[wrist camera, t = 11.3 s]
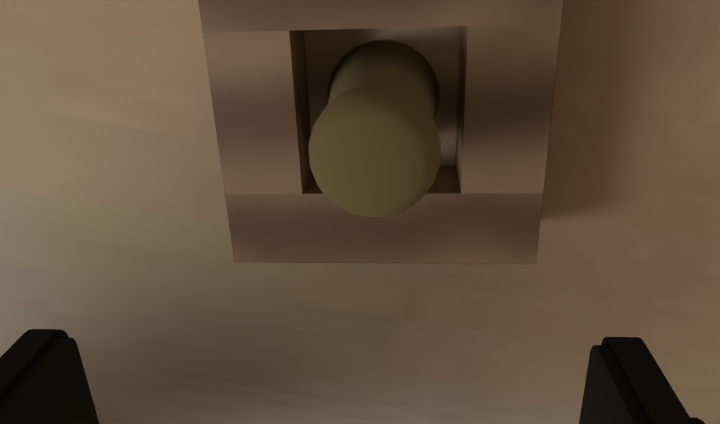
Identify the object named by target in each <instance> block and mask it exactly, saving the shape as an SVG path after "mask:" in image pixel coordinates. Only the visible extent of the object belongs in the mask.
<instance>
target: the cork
mask: <svg viewBox="0 0 720 424" xmlns="http://www.w3.org/2000/svg"><path fill="white" fill-rule="evenodd" d="M327 99H328V105H327V106H326V107H325V109H324V110H323V112H322V113H321V115H320V116H319V118H318V119H317V121H316V122H315V124H314V126H313V129H312V133H311V137H310V141H309V145H308V149H309V162H310V168H311V171H312V173H313V176H314V178H315V180H316V183H317V185H318V187H319V188H320V190H321V191H322V192H323V193H324V194H325V195H326V197H327V198H328V199H329V200H330V201H331V202H332V203H334V204H335V205H337V206H338V207H340V208H341V209H343V210H345V211H346V212H349V213H352V214H356V215H359V216H362V217H388V216H391V215H394V214H398V213H401V212H404V211H405V210H407V209H408V208H410V207H411V206H413V205H414V204H416V203H417V202H419V201H420V200H421V199H422V197H423V196H424V195H425V194H426V192H427V191H428V190H429V188H430V187H431V186H432V184H433V183H434V181H435V178H436V175H437V172H438V170H439V167H440V164H441V141H440V138H439V135H438V131H437V128H436V125H435V122H434V118H435V115H436V112H437V109H438V106H439V85H438V82H437V79H436V76H435V73H434V70H433V69H432V67H431V66H430V65H429V63H428V62H427V60H426V59H425V58H424V56H423V55H421V54H420V53H418V52H417V51H416V50H414V49H413V48H411V47H410V46H409V45H406V44H402V43H399V42H396V41H392V40H376V41H370V42H367V43H365V44H362V45H359V46H357V47H355V48H353V49H352V50H351V51H350V52H348V53H347V54H346V55H345V56H343V57H342V58H341V60H340V61H339V63H338V64H337V66H336V67H335V69H334V70H333V72H332V74H331V78H330V82H329V86H328V89H327Z"/></svg>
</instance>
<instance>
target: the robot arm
mask: <svg viewBox="0 0 720 424" xmlns="http://www.w3.org/2000/svg"><path fill="white" fill-rule="evenodd" d="M0 424H99V421H98V418H97V414H96V410H95V407H94V403H93V400H92V396H91V393H90V389H89V386H88V382H87V379H86V375H85V371H84V368H83V364H82V361H81V357H80V354H79V350H78V347H77V344H76V341H75V340H74V339H73V338H69V337H68V335H67V333H66V332H65V331H63V330H56V329H32V330H28V331H27V332H25V333H24V334H23V335H22V336H21V337H20V338H19V339H18V340H17V341H16V342H15V343H14V344H13V345H12V346H11V347H10V348H9V349H8V350H7V351H6V352H5V353H4V354H3V355H2V356H1V357H0ZM579 424H705V423H704V422H703V421H702V420H700V419H698V418H690V417H689V415H688V414H687V412H686V411H685V409H684V407H683V406H682V404H681V402H680V401H679V399H678V397H677V396H676V394H675V392H674V391H673V389H672V387H671V386H670V384H669V383H668V381H667V379H666V378H665V376H664V374H663V373H662V371H661V369H660V368H659V366H658V364H657V363H656V361H655V359H654V358H653V356H652V355H651V353H650V351H649V350H648V348H647V346H646V345H645V343H644V342H643V340H642V339H641V338H638V337H605V338H604V339H603V341H602V343H601V345H594V346H592V348H591V352H590V358H589V364H588V370H587V377H586V383H585V389H584V396H583V402H582V408H581V415H580V421H579Z"/></svg>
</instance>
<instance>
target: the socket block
mask: <svg viewBox="0 0 720 424" xmlns="http://www.w3.org/2000/svg"><path fill="white" fill-rule="evenodd" d="M198 2H199V9H200V16H201V24H202V31H203V38H204V45H205V53H206V60H207V67H208V74H209V81H210V89H211V96H212V103H213V110H214V117H215V125H216V132H217V139H218V146H219V153H220V161H221V168H222V175H223V182H224V190H225V197H226V204H227V211H228V218H229V226H230V233H231V240H232V247H233V254H234V262H284V263H429V264H536V258H537V248H538V239H539V229H540V220H541V210H542V200H543V191H544V181H545V172H546V162H547V152H548V143H549V133H550V124H551V114H552V104H553V95H554V85H555V76H556V66H557V57H558V47H559V37H560V28H561V18H562V9H563V0H198ZM376 40H392V41H396V42H399V43H402V44H406V45H409V46H410V47H411V48H413V49H414V50H416V51H417V52H418V53H420V54H421V55H423V56H424V58H425V59H426V60H427V62H428V63H429V65H430V66H431V67H432V69H433V70H434V73H435V76H436V79H437V82H438V85H439V106H438V109H437V112H436V115H435V118H434V122H435V125H436V128H437V131H438V135H439V138H440V141H441V164H440V167H439V170H438V172H437V175H436V178H435V181H434V183H433V184H432V186H431V187H430V188H429V190H428V191H427V192H426V194H425V195H424V196H423V197H422V199H421V200H420V201H419V202H417V203H416V204H414V205H413V206H411V207H410V208H408V209H407V210H405V211H404V212H401V213H398V214H394V215H391V216H388V217H362V216H359V215H356V214H352V213H349V212H346V211H345V210H343V209H341V208H340V207H338V206H337V205H335V204H334V203H332V202H331V201H330V200H329V199H328V198H327V197H326V195H325V194H324V193H323V192H322V191H321V190H320V188H319V187H318V185H317V183H316V180H315V178H314V176H313V173H312V171H311V168H310V162H309V149H308V145H309V141H310V137H311V133H312V129H313V126H314V124H315V122H316V121H317V119H318V118H319V116H320V115H321V113H322V112H323V110H324V109H325V107H326V106H327V105H328V99H327V89H328V86H329V82H330V78H331V74H332V72H333V70H334V69H335V67H336V66H337V64H338V63H339V61H340V60H341V58H342V57H343V56H345V55H346V54H347V53H348V52H350V51H351V50H352V49H353V48H355V47H357V46H359V45H362V44H365V43H367V42H370V41H376Z"/></svg>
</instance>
